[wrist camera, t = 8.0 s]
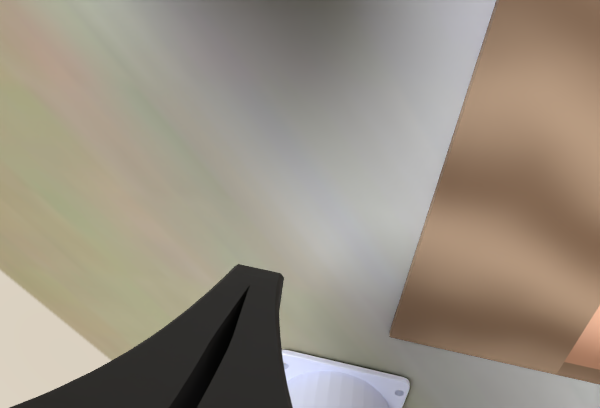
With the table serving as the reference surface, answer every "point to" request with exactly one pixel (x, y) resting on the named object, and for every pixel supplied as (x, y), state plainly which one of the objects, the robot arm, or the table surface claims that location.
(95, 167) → the table surface
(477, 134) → the brown rectangular board
